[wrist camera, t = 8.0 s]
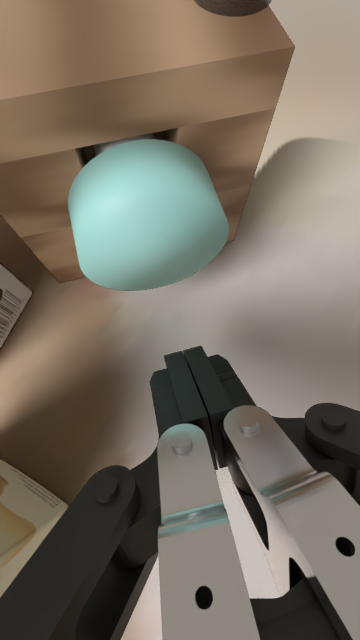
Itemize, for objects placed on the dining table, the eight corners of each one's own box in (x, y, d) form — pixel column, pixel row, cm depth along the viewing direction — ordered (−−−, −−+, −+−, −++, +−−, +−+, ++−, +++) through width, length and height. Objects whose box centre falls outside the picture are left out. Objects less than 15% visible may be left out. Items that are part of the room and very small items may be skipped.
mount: (203, 165, 22) (226, -61, 12) (233, 240, 20) (295, 46, 10) (45, 199, 21) (-85, -18, 10) (59, 283, 19) (-87, 115, 8)
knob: (152, 93, 19) (141, -47, 13) (217, 272, 15) (244, 179, 9) (60, 111, 18) (7, -28, 13) (101, 301, 14) (50, 223, 8)
